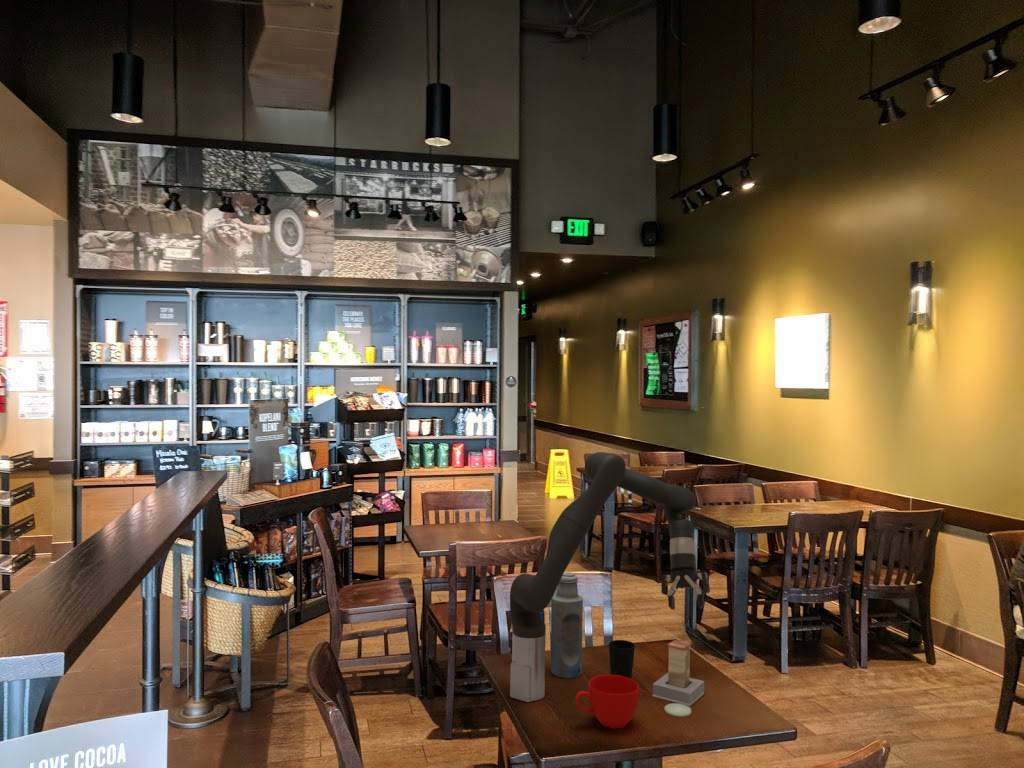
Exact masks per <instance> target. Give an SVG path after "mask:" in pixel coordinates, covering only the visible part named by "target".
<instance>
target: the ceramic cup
mask: <svg viewBox="0 0 1024 768" xmlns="http://www.w3.org/2000/svg"><path fill="white" fill-rule="evenodd" d="M584 695H585V696H587V697H588V698H589V703H590V707H591V708H587V707H584V706H582V705H581V703H580V697H581V696H584ZM639 696H640V685H639V683H638V682H637V681H636V680H634V679H630V678H627V677H624V676H619V675H611V674H603V675H597V676H594V677H592V678H591V679H590V680H589V681H588V691H586V690H580V691H578V692H577V694H576V696H575V704H576V706H577V707H578V708H579V709H580V710H582V711H584V712H586V713H589V714H593V715H594V716H595V718H596V720H598V721H599V722H600V723H599V724H600V725H602V726H603V725H604V726H603V727H605V726H606V727H605V728H607V727H609V729H613V728H614V730H615V729H616V728H619V729H622V728H625V727H626V726H627V725H628V723H630V721H631V720H632V719H633V717H634V716H635V714H636V711H637V708H638V705H639ZM616 730H617V729H616Z"/></svg>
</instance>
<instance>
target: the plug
mask: <svg viewBox="0 0 1024 768" xmlns="http://www.w3.org/2000/svg"><path fill="white" fill-rule="evenodd" d="M691 646H692V643H690V642H687V641H684V640H683V641H682V640H677V639H674V640H672V641H670V642H669V643H668V644H667V647H668V666H667V667H668V668H667V670H668V672H667V673H668V684H669V685H673V686H677V687H680V688H684V689H685V688H686V687H687V686H689V678H690V673H691V672H690V669H691V667H690V666H691V665H690V664H691V661H690V660H691V659H690V658H691V655H690V654H691Z"/></svg>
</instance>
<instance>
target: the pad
mask: <svg viewBox="0 0 1024 768" xmlns="http://www.w3.org/2000/svg"><path fill="white" fill-rule="evenodd" d="M664 711H665V713H666V714H668V715H670V716H672V717H679V718H685V717H689V716H690V715H692V708H691V707H690V706H687V705H683V704H680V703H676V702H672V703H668V704H666V705H664Z"/></svg>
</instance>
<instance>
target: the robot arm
mask: <svg viewBox="0 0 1024 768" xmlns="http://www.w3.org/2000/svg"><path fill="white" fill-rule="evenodd" d="M584 471H585V474H586V475H587V477H588V478H589V480H591V483H590V484H589V485H588V487H587V488H586V490H585V491H584V492H583V493H582V494H581V495H580V496H579V497H577V498H576V499H575V500H573V501H572V502H571V503H570V504H569V505H567V507H565V508H564V509H563V510H562V511H561V513H560V515H559V516H558V518H557V519H556V520H555V523H554V524H553V526H552V528H551V530H550V533H549V537H548V541H547V549H546V554H545V557H544V560H543V562H542V564H541V565H540V568H539V569H538V571H537V572H536V573H535V575H533V574H531V573H521V574H518V575H517V576H516V577H515V578H514V579H513V581H512V583H511V586H510V590H509V591H510V592H509V612H510V615H509V616H510V623H511V625H512V626H513V649H512V648H511V663H510V675H509V677H510V681H509V682H510V683H509V684H510V685H509V696H510V698H513V699H516V700H518V701H523V702H526V703H530V702H534V701H539V700H542V699H544V697H545V689H546V688H545V687H546V686H545V684H546V682H545V680H546V679H545V678H546V677H545V676H546V675H545V673H546V672H545V671H546V635H547V634H546V633H547V632H546V629H547V627H546V622H545V623H544V621H543V619H542V618H541V615H540V612H541V611H542V610H544V611H545V609H546V608H547V607H548V606H549V604H550V603H551V599H552V597H553V595H555V594H556V593H555V592H557V588H558V584H559V582H560V580H561V578H562V575H563V573H564V572H566V569H567V568H568V566H569V565H570V563H571V561H572V559H573V557H574V555H575V554H576V552H577V550H578V549H579V547H580V545H581V544H582V542H583V541H584V539H585V537H586V536H587V534H588V532H589V530H590V528H591V527H592V525H593V523H594V521H595V520H596V519H597V516H598V515H599V513H600V512H601V510H602V509H603V507H604V505H605V504H606V502H607V501H608V499H609V498H610V497H611V495H612V494H613V493H614V491H615V490H616V489H617V487H618V488H620V489H623V490H625V491H627V492H630V493H631V494H634V495H636V496H639V497H641V498H642V499H645V500H647V501H649V502H652V503H654V504H656V505H662V508H663V513H664V515H665V517H666V518H665V519H666V521H667V524H668V526H669V539H670V540H669V554H670V555H669V556H670V570H671V573H670V574H665V573H663V574H661V576H660V577H661V579H660V581H661V594H662V595H665V596H667V602H668V607H669V608H670V610H676V603H675V596H674V595H675V594H676V592H678V590H679V589H694V591H696V593H697V595H696V596H697V597H696V598H697V608H698V609H701V610H702V609H703V608H704V607H705V595H706V594H709V593H710V592H711V589H710V582H709V577H708V576H709V575H708V572H706V571H701V572H698V571H697V570H698V569H697V560H696V559H697V558H696V548H695V547H696V546H695V542H694V532H693V531H694V530H693V529H694V528H693V523H692V521H690V520H689V519H684V518H683V517H682V514H681V513H686V512H689V511H691V510H693V509H694V508H695V507H696V505H697V498H696V495H695V494H694V493H693V492H692V491H691V490H690V489H689V488H686V487H684V486H682V485H675V484H670V483H666V482H664V481H662V480H660V479H658V478H655V477H652V476H650V475H647V474H644V473H641V472H638V471H635V470H631V469H629V468H626V462H625V460H624V458H623V457H622V456H620V454H619V455H618V454H616V453H610V452H605V451H604V452H603V451H598V452H594V453H591V454H590V455H589V456H588V457H587V458H586V460H585V462H584ZM698 579H700V580H701V581H702V588H701V586H700V585H699V584H698V583H697V581H698ZM670 580H671V581H672V583H671V584H670V588H669V582H670Z"/></svg>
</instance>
